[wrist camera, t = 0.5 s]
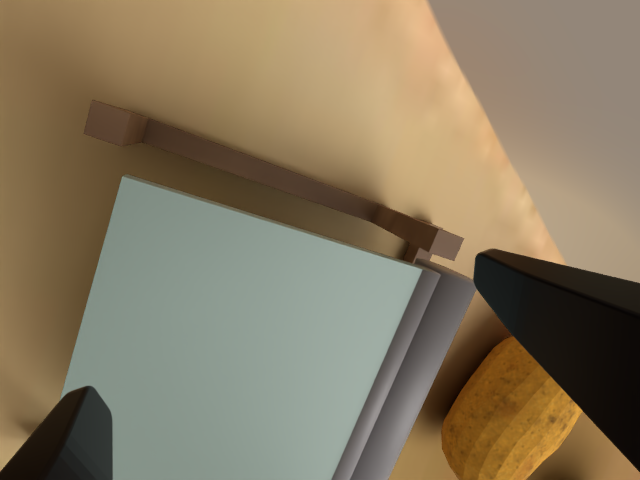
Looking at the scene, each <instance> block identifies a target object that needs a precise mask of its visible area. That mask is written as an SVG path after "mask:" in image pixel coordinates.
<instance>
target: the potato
mask: <svg viewBox="0 0 640 480" xmlns="http://www.w3.org/2000/svg"><path fill="white" fill-rule="evenodd" d="M581 413H582V410H581V409H580V408H579V406H578V405H577V404H576V403H575V402H574V401H573V400H572V399H571V398H570V397H569V396H568V395H567V394H566V393H565V391H564V390H563V389H562V388H561V387H560V386H559V385H558V384H557V383H556V382H555V381H554V380H553V379H552V378H551V376H550V375H549V374H548V373H547V372H546V371H545V370H544V369H543V368H542V367H541V366H540V365H539V364H538V363H537V361H536V360H535V359H534V358H533V357H532V356H531V355H530V354H529V353H528V352H527V351H526V350H525V349H524V348H523V346H522V345H521V344H520V343H519V342H518V341H517V340H516V339H515V338H514V336H512V337H509V338H506V339H504V340H503V341H502V342H501V343H499V344H498V345H497V346H496V347H494V348H493V349H492V351H491V352H490V353H489V354H488V356H487V357H486V358H485V359H484V361H483V362H482V363H481V364H480V366H479V367H478V368H477V370H476V371H475V372H474V374H473V375H472V376H471V378H470V379H469V381H468V382H467V383H466V385H465V386H464V387H463V389H462V390H461V392H460V393H459V395H458V397H457V399H456V400H455V402H454V404H453V405H452V407H451V409H450V411H449V413H448V414H447V416H446V418H445V420H444V423H443V427H442V431H441V433H442V450H443V452H444V454H445V456H446V459H447V461H448V463H449V465H450V467H451V469H452V470H453V472H454V473H455V475H456V476H457V478H458V479H459V480H526V479H527V478H528V477H529V476H530V475H531V474H532V473H533V472H534V471H535V469H536V468H537V467H538V466H539V465H540V464H541V463H542V462H543V461H544V460H545V459H546V458H547V457H549V456H550V455H551V454H552V453H553V452H554V451H556V450H557V449H558V448H559V447H560V445H561V444H562V442H563V441H564V440H565V438H566V437H567V435H568V434H569V433H570V431H571V429H572V428H573V426H574V424H575V422H576V421H577V419H578V417H579V415H580V414H581Z"/></svg>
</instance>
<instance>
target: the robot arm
mask: <svg viewBox="0 0 640 480" xmlns="http://www.w3.org/2000/svg"><path fill="white" fill-rule="evenodd" d="M473 280H474V284H475V287H476V288H477V290H478V291H479V293H480V294H481V295H482V297H483V298H484V299H485V300H486V302H487V303H488V304H489V306H490V307H491V308H492V310H493V311H494V312H495V313H496V315H497V316H498V317H499V319H500V320H501V321H502V323H503V324H504V325H505V327H506V328H507V329H508V330H509V332H510V333H511V334H512V335H513V336H514V338H515V339H516V340H517V341H518V342H519V343H520V344H521V345H522V346H523V348H524V349H525V350H526V351H527V352H528V353H529V354H530V355H531V356H532V357H533V358H534V359H535V360H536V361H537V363H538V364H539V365H540V366H541V367H542V368H543V369H544V370H545V371H546V372H547V373H548V374H549V375H550V376H551V378H552V379H553V380H554V381H555V382H556V383H557V384H558V385H559V386H560V387H561V388H562V389H563V390H564V391H565V393H566V394H567V395H568V396H569V397H570V398H571V399H572V400H573V401H574V402H575V403H576V404H577V405H578V406H579V408H580V409H581V410H582V411H583V412H584V413H585V414H586V415H587V416H588V417H589V418H590V419H591V420H592V421H593V423H594V424H595V425H596V426H597V427H598V428H599V429H600V430H601V431H602V432H603V433H604V434H605V435H606V436H607V438H608V439H609V440H610V441H611V442H612V443H613V444H614V445H615V446H616V447H617V448H618V449H619V450H620V451H621V453H622V454H623V455H624V456H625V457H626V458H627V459H628V460H629V461H630V462H631V463H632V464H633V465H634V467H635V468H636V469H637V470H638V471H639V472H640V283H637V282H633V281H628V280H624V279H620V278H616V277H611V276H607V275H603V274H599V273H595V272H590V271H586V270H581V269H578V268H574V267H569V266H565V265H561V264H557V263H552V262H548V261H544V260H540V259H535V258H531V257H527V256H523V255H519V254H514V253H510V252H506V251H502V250H497V249H488V250H485V251H483V252H480V253H478V254H477V255H476V258H475V267H474V277H473ZM0 480H113V420H112V414H111V411H110V409H109V407H108V406H107V405H106V403H105V402H104V400H103V399H102V398H101V396H100V395H99V393H98V392H97V391H96V389H95V388H94V387H93V386H84V387H81V388H78V389H75V390H72V391H70V392H68V393H67V394H66V395H65V396H64V397H63V398H62V399H61V400H60V401H59V403H58V404H57V405H56V406H55V407H54V408H53V410H52V411H51V412H50V413H49V414H48V416H47V417H46V418H45V419H44V420H43V422H42V423H41V424H40V425H39V426H38V427H37V429H36V430H35V431H34V432H33V433H32V435H31V436H30V437H29V438H28V439H27V441H26V442H25V443H24V444H23V445H22V446H21V448H20V449H19V450H18V451H17V452H16V454H15V455H14V456H13V457H12V458H11V460H10V461H9V462H8V463H7V464H6V465H5V467H4V468H3V469H2V470H1V471H0Z"/></svg>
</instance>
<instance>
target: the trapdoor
mask: <svg viewBox="0 0 640 480" xmlns="http://www.w3.org/2000/svg"><path fill="white" fill-rule="evenodd" d="M476 289H477V288H476V287H475V284H474V281H473V280H472V279H470V278H468V277H466V276H464V275H462V274H460V273H458V272H456V271H453V270H451V269H449V268H446V267H444V266H441V265H439V264H436V263H433V262H430V261H427V260H424V259H420V258H416V260H415V262H414V264H412V263H409V262H406V261H403V260H399V259H396V258H393V257H390V256H387V255H383V254H380V253H377V252H374V251H371V250H367V249H364V248H361V247H358V246H355V245H351V244H348V243H345V242H342V241H339V240H336V239H332V238H329V237H326V236H323V235H320V234H316V233H313V232H310V231H307V230H304V229H300V228H297V227H294V226H291V225H288V224H285V223H281V222H278V221H275V220H272V219H269V218H265V217H262V216H259V215H256V214H253V213H249V212H246V211H243V210H240V209H237V208H233V207H230V206H227V205H224V204H221V203H218V202H214V201H211V200H208V199H205V198H202V197H198V196H195V195H192V194H189V193H186V192H182V191H179V190H176V189H173V188H170V187H166V186H163V185H160V184H157V183H154V182H151V181H147V180H144V179H141V178H138V177H135V176H131V175H128V174H125V175H124V176H122V179H121V183H120V186H119V190H118V193H117V197H116V201H115V204H114V208H113V211H112V215H111V218H110V222H109V226H108V229H107V233H106V236H105V240H104V244H103V247H102V251H101V254H100V258H99V261H98V265H97V269H96V272H95V276H94V279H93V283H92V287H91V290H90V294H89V297H88V301H87V305H86V308H85V312H84V315H83V319H82V322H81V326H80V330H79V333H78V337H77V340H76V344H75V348H74V351H73V355H72V358H71V362H70V365H69V369H68V373H67V376H66V380H65V383H64V387H63V391H62V394H61V398H60V400H61V399H62V398H63V397H64V396H65V395H66V394H67V393H68V392H70V391H72V390H75V389H78V388H81V387H84V386H93V387H94V388H95V389H96V391H97V392H98V393H99V395H100V396H101V398H102V399H103V400H104V402H105V403H106V405H107V406H108V407H109V409H110V411H111V414H112V420H113V480H388V479H389V476H390V474H391V472H392V470H393V468H394V466H395V464H396V461H397V459H398V457H399V455H400V453H401V451H402V448H403V446H404V444H405V442H406V440H407V438H408V436H409V433H410V431H411V429H412V427H413V425H414V423H415V420H416V418H417V416H418V414H419V412H420V410H421V408H422V405H423V403H424V401H425V399H426V397H427V395H428V392H429V390H430V388H431V386H432V384H433V382H434V380H435V377H436V375H437V373H438V371H439V369H440V367H441V364H442V362H443V360H444V358H445V356H446V354H447V352H448V349H449V347H450V345H451V343H452V341H453V339H454V336H455V334H456V332H457V330H458V328H459V326H460V324H461V321H462V319H463V317H464V315H465V313H466V311H467V308H468V306H469V304H470V302H471V300H472V298H473V296H474V293H475V291H476Z"/></svg>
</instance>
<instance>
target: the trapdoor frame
mask: <svg viewBox="0 0 640 480" xmlns="http://www.w3.org/2000/svg"><path fill="white" fill-rule="evenodd" d="M84 134H86V135H89V136H92V137H94V138H97V139H100V140H103V141H106V142H109V143H112V144H115V145H118V146H126V145H131V144H136V143H140V142H143V143H146V144H149V145H152V146H154V147H157V148H160V149H163V150H166V151H169V152H172V153H175V154H177V155H180V156H183V157H186V158H189V159H192V160H195V161H198V162H200V163H203V164H206V165H209V166H212V167H215V168H218V169H220V170H223V171H226V172H229V173H232V174H235V175H238V176H241V177H243V178H246V179H249V180H252V181H255V182H258V183H261V184H264V185H266V186H269V187H272V188H275V189H278V190H281V191H284V192H286V193H289V194H292V195H295V196H298V197H301V198H304V199H307V200H309V201H312V202H315V203H318V204H321V205H324V206H327V207H329V208H332V209H335V210H338V211H341V212H344V213H347V214H350V215H352V216H355V217H358V218H361V219H364V220H367V221H370V222H372V223H374V224H376V225H378V226H380V227H381V228H383V229H385V230H387V231H389V232H391V233H393V234H395V235H397V236H398V237H400V238H402V239H404V240H406V241H408V242H410V244H409V247H408V249H407V251H406V254H405V256H404V258H403V261H406V262H409V263H412V264H414V262H415V260H416V258H420V259H424V260H427V261H429V260H430V258H431V256H432V254H435V255H438V256H441V257H443V258H446V259H449V260H452V261H454V260H455V258H456V256H457V253H458V251H459V249H460V247H461V244H462V242H463V240H464V238H462V237H459V236H457V235H454V234H452V233H449V232H447V231H444V230H443V228H441V227H438V226H436V225H433V224H430V223H428V222H425V221H422V220H417V219H415V218H412V217H410V216H408V215H405V214H403V213H400V212H398V211H395V210H393V209H390V208H388V207H385V206H382V205H380V204H377V203H374V202H372V201H369V200H366V199H364V198H361V197H358V196H356V195H353V194H350V193H348V192H345V191H342V190H340V189H337V188H334V187H332V186H329V185H326V184H323V183H321V182H318V181H315V180H313V179H310V178H307V177H305V176H302V175H299V174H297V173H294V172H291V171H289V170H286V169H283V168H281V167H278V166H275V165H273V164H270V163H267V162H265V161H262V160H259V159H257V158H254V157H251V156H249V155H246V154H243V153H241V152H238V151H235V150H233V149H230V148H227V147H225V146H222V145H219V144H216V143H214V142H211V141H208V140H206V139H203V138H200V137H198V136H195V135H192V134H190V133H187V132H184V131H182V130H179V129H176V128H174V127H171V126H168V125H166V124H163V123H160V122H158V121H155V120H152V119H150V118H147V117H144V116H142V115H139V114H136V113H134V112H131V111H128V110H125V109H122V108H118V107H115V106H111V105H108V104H104V103H101V102H97V101H94V100H92V103H91V107H90V111H89V114H88V118H87V122H86V126H85V130H84Z"/></svg>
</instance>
